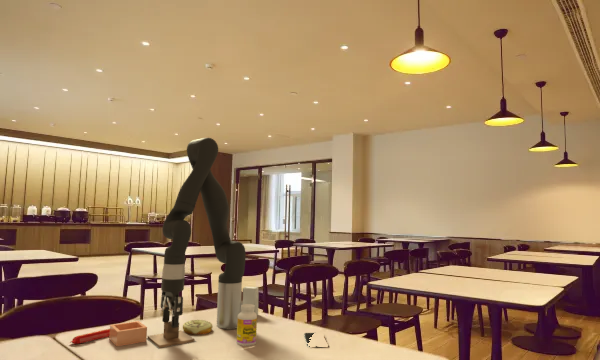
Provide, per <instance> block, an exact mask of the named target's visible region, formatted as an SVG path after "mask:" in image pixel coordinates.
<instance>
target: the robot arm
mask: <svg viewBox="0 0 600 360" xmlns="http://www.w3.org/2000/svg"><path fill="white" fill-rule="evenodd" d="M186 155H187V158H188V161H189V163H190V166H191V168H192V170H191V172H190V173H189V175H188V176H187V178H186V179H185V181H184V182H183V184H182V185H181V186H180V188H179V190H178V193H177V196H176V199H175V202H174V206H173V207H172V208H171V210H170V212H169V213H168V215H166V218H165V220H164V222H163V224H162V235H163V236H164V237H165V238H166V239H169V240H172V242H171V245H170V246H168V247H166V248H165V249H164V258H163V268H162V275H161V286H160V287H161V288H160V290H161V299H160V309H162V322H163V323H164V322H170V314H171V321H172V322H171V327H172V328H176V327H178V323H179V324H180V322H179V320H180V316H182V315H183V308H184V307H183V306H184V297H183V296H180V292H183V291H184V289H185V277H186V275H185V274H186V270H185V269H186V266H185V265H186V264H185V263H186V252H187V249H188V245H189V242H190V239H191V236H192V227H191V224H190V222H189V221H187V220H186V217H188V216H191V215H193V213H194V210H195V207H196V205H197V202H198V198H199V195H200V196H201V199H202V203H203V207H204V209H205V213H206V217H207V221H208V225H209V227H210V231H211V235H212V241H213V247H214V253H215V256H216V259H217V261H218V262H220V263H222V264H225V266H224V271H223V272H221V273H220V274H219V275H218V279H217V280H218V283H217V285H218V286H217V303H216V304H217V309H216V327H217V328H220V329H222V330H234V329H237V322H238V314H239V313H240V312H241V311H242V310H241V305H243V300H242V294H243V288H242V287H243V276H244V274H245V269H246V267H245V266H246V257H247V256H246V253H247V252H246V248H245V245H244V244H243V243H242V242H241V241H234V240H231V237H230V234H229V230H228V229H229V228H228V221H229V215H230V206H229V201H228V198H227V193H226V191H225V189H224V188H223V186H222V185H221V184H220V182H219V181H218V180H217V178H216V177H215V176H214V174H213V172H212V167H213V165H214V163H215V162H216V159H217V157H218V155H219V145H218V143H217V142H216V140H214V138H212V137H202V138H198V139H193V140H191V141H189V142H188V143H187V146H186Z"/></svg>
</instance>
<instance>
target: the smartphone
mask: <svg viewBox="0 0 600 360" xmlns="http://www.w3.org/2000/svg"><path fill="white" fill-rule="evenodd" d="M314 333H315V332H305V333H304V334H303V336H304V335H305V336H304V339H306V340H305V343H306V342H307V343H309V342H310V341H309V340H311V339H309V338H310V337H312V335H313V334H314ZM307 346H308V344H306V347H307ZM309 347H310V346H309Z"/></svg>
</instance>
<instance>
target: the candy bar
mask: <svg viewBox="0 0 600 360" xmlns="http://www.w3.org/2000/svg"><path fill="white" fill-rule="evenodd" d="M109 336H110V328H105V329H100V330H96V331H92V332H89V333H84V334H80V335H76V336H74V337H73V338H72V340H71V341H70V342H69V343H72V344H73V345H79V344H85V343H87V342H89V343H90V342H92V341H93V342H94V341H96V340H101V339H103V338H108V337H109Z"/></svg>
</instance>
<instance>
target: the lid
mask: <svg viewBox="0 0 600 360" xmlns="http://www.w3.org/2000/svg"><path fill="white" fill-rule="evenodd" d="M171 322H172V320H169V322H163V333H158V334H157V333H156V334H152V335H147V338H148V339H149V340H150V341H151V342H153V343H154V344H155V345H156V346H158V347H159V348H160V349H163V348H162V347H166V348H168V347H167V346H171V347H173V346H172V345H176V346H179V345H178V344H181V345H184V344H183V343H187V344H189V343H188V342H192V343H195V342H194V341H196V340H195V338H194V337H192V336H190V334H187V333H185V332H184V330H183V331H182V330H180V322H179V323H178V327H176V328H172V327H171ZM151 342H150V343H151ZM156 346H155V347H156Z"/></svg>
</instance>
